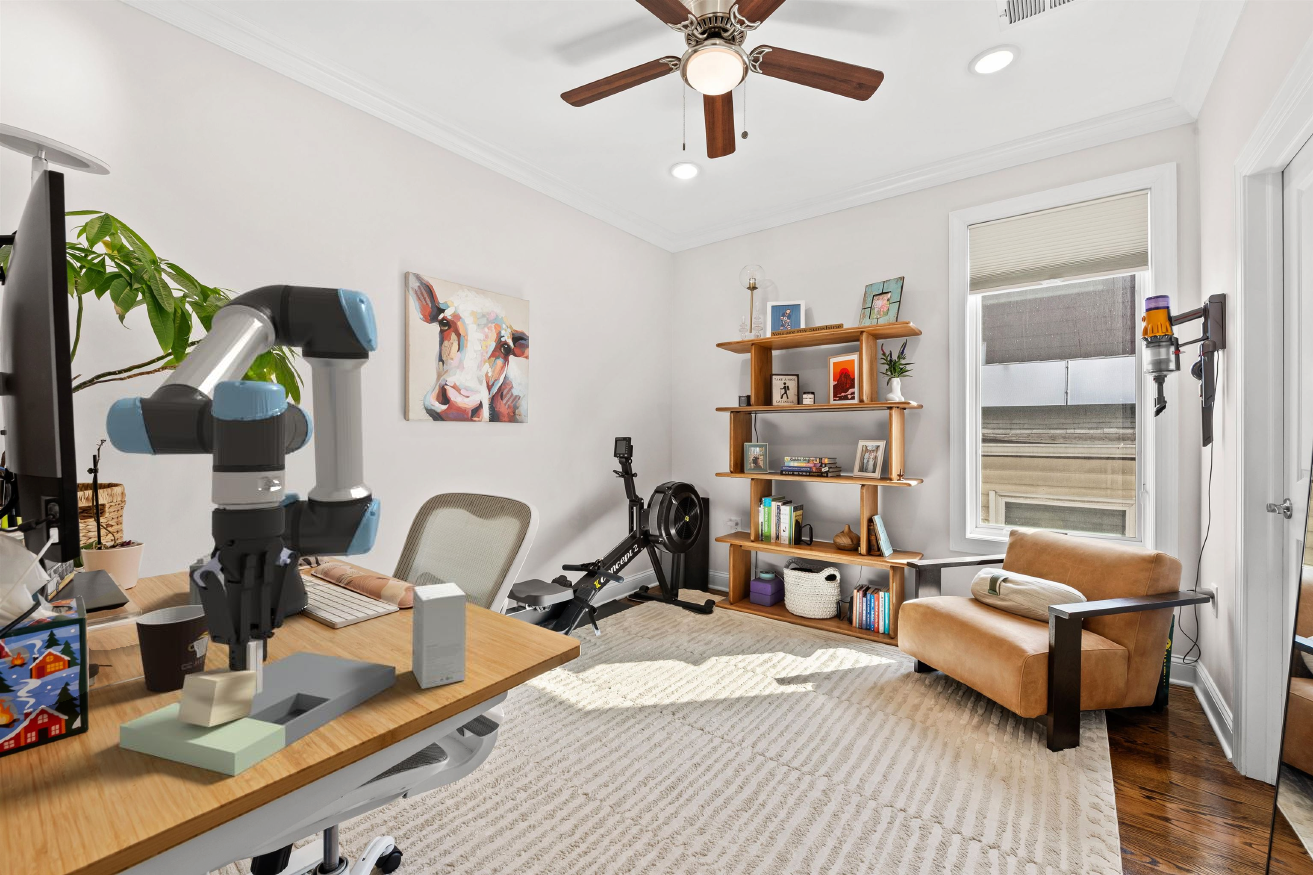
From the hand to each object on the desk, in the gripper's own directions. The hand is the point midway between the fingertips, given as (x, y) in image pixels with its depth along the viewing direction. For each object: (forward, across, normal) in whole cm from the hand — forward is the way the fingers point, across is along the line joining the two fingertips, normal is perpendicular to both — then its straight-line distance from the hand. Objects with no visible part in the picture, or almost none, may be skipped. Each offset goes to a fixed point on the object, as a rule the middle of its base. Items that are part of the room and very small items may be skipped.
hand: (248, 692), depth 73 cm
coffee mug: (+4, +7, +21) cm, 23 cm away
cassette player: (+4, +37, +57) cm, 68 cm away
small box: (+4, +20, -13) cm, 24 cm away
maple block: (+1, -4, 0) cm, 4 cm away
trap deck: (+4, +4, 0) cm, 6 cm away
